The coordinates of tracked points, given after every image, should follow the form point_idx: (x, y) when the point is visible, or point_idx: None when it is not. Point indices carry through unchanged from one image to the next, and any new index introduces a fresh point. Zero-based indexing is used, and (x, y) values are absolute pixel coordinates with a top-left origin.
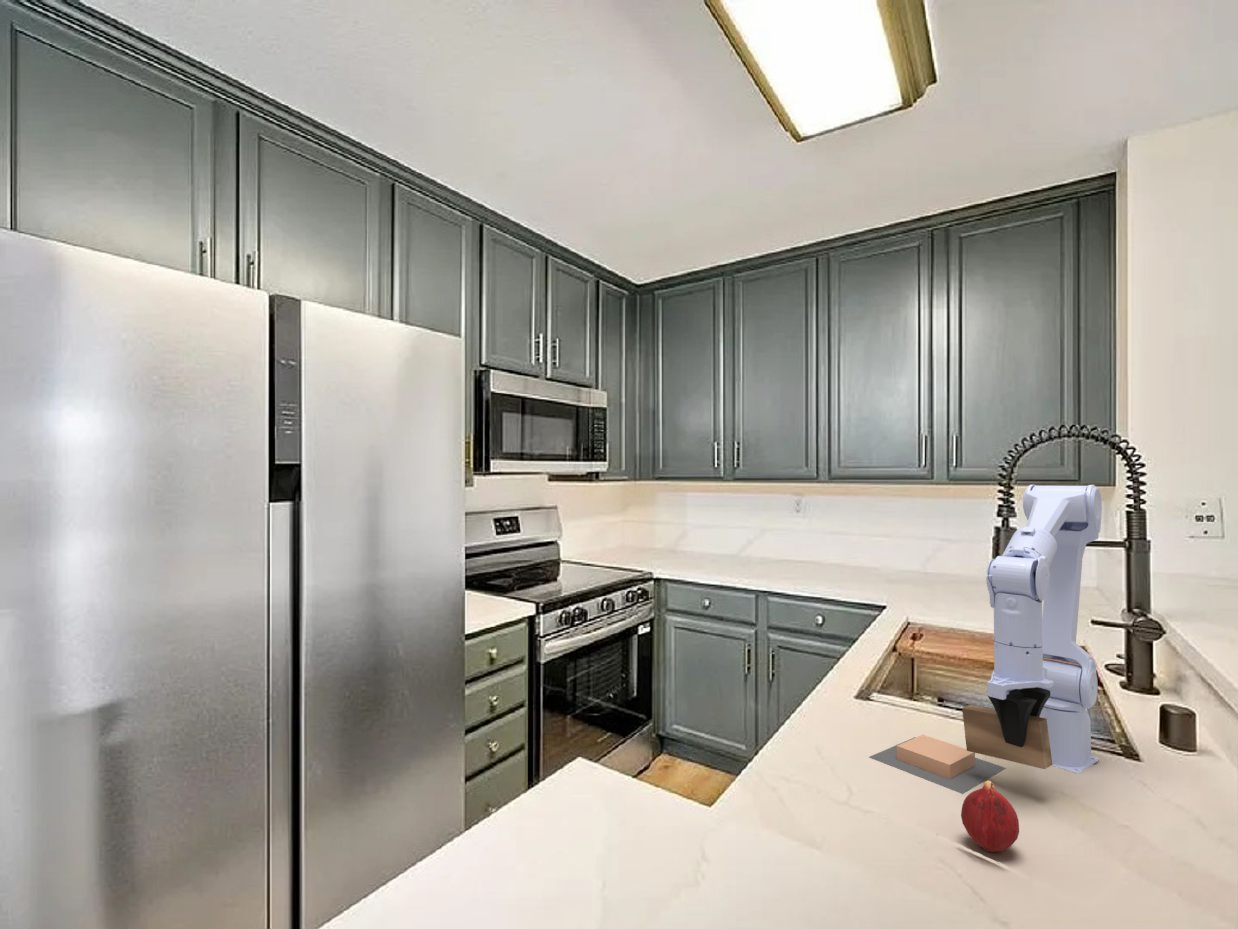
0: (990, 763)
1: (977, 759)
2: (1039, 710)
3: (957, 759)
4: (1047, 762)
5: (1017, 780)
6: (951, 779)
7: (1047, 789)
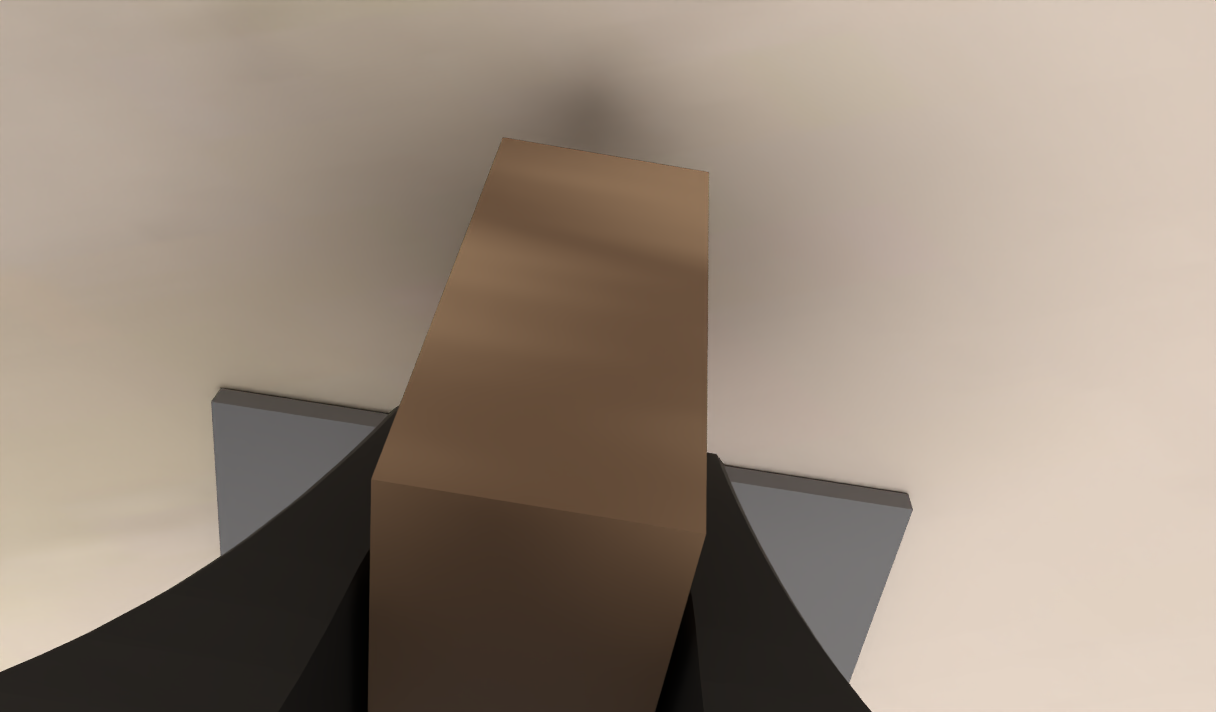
0: (229, 486)
1: None
2: (260, 635)
3: None
4: (620, 182)
5: (306, 305)
6: None
7: (275, 117)
